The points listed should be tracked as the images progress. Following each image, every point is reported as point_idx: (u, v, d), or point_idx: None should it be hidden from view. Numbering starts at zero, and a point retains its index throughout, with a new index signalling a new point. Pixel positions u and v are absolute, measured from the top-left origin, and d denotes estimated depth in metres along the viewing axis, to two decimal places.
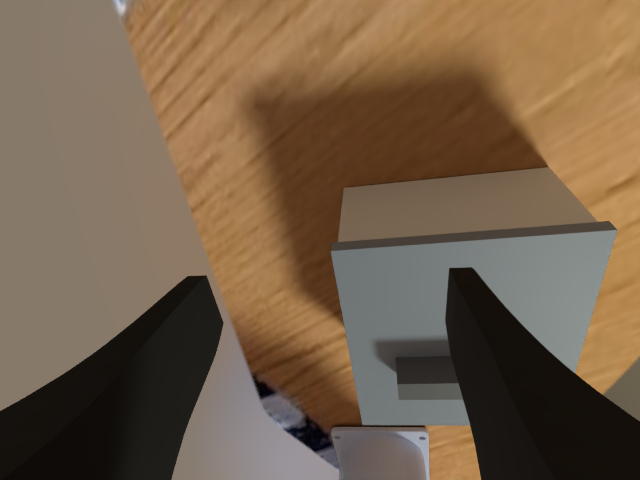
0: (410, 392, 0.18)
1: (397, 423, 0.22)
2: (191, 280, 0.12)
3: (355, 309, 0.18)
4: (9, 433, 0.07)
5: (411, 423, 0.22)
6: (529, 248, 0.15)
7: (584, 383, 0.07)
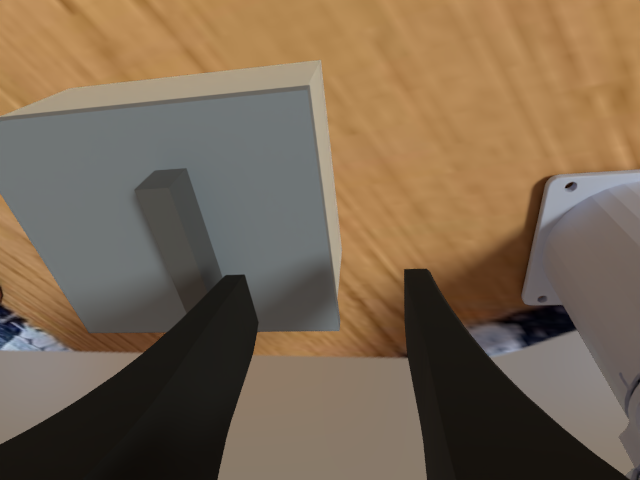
0: None
1: (330, 298, 0.17)
2: (230, 280, 0.11)
3: (146, 323, 0.19)
4: (73, 436, 0.06)
5: (333, 282, 0.16)
6: (15, 197, 0.15)
7: (509, 382, 0.07)
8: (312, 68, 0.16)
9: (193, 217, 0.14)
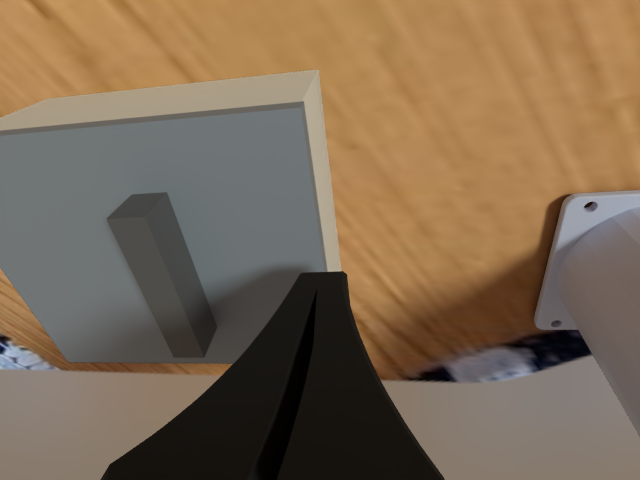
0: (183, 347, 0.14)
1: None
2: (310, 277, 0.11)
3: (128, 353, 0.17)
4: (207, 440, 0.06)
5: None
6: None
7: (374, 381, 0.07)
8: (308, 79, 0.14)
9: (174, 246, 0.13)
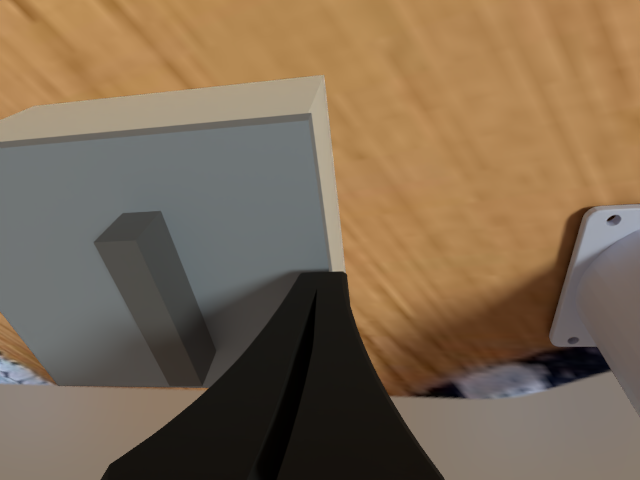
0: (180, 375, 0.13)
1: None
2: (310, 277, 0.11)
3: (122, 376, 0.16)
4: (207, 441, 0.06)
5: None
6: None
7: (374, 381, 0.07)
8: (314, 86, 0.13)
9: (169, 269, 0.12)
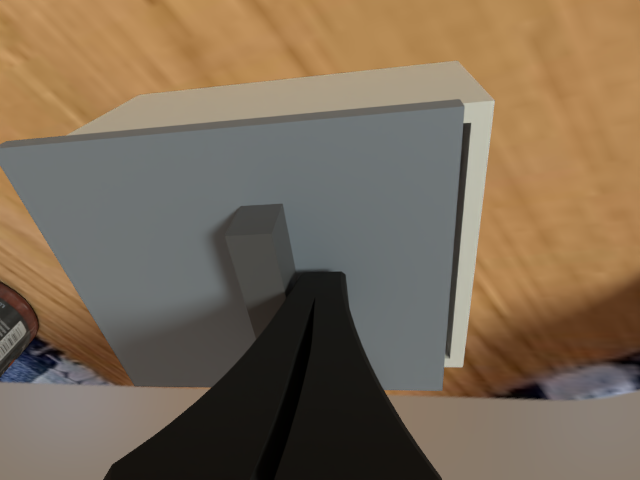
0: None
1: (439, 355, 0.14)
2: (311, 277, 0.11)
3: (204, 377, 0.16)
4: (210, 440, 0.06)
5: (445, 338, 0.13)
6: (59, 235, 0.12)
7: (373, 381, 0.07)
8: (461, 71, 0.12)
9: (288, 265, 0.11)
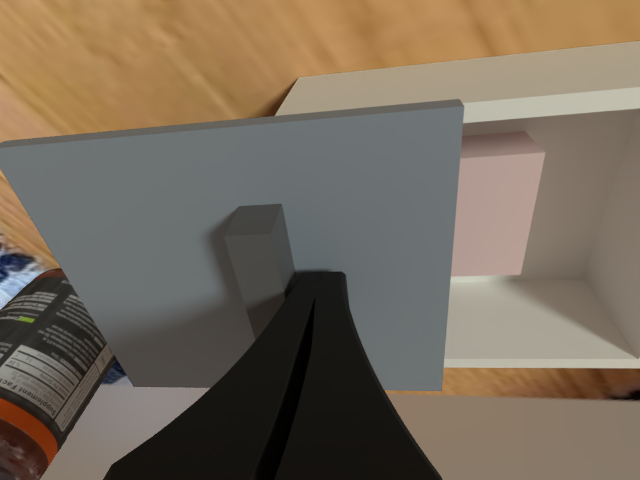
0: None
1: (439, 355, 0.14)
2: (311, 277, 0.11)
3: (204, 377, 0.16)
4: (209, 441, 0.06)
5: (445, 337, 0.13)
6: (57, 235, 0.12)
7: (373, 381, 0.07)
8: None
9: (287, 265, 0.11)
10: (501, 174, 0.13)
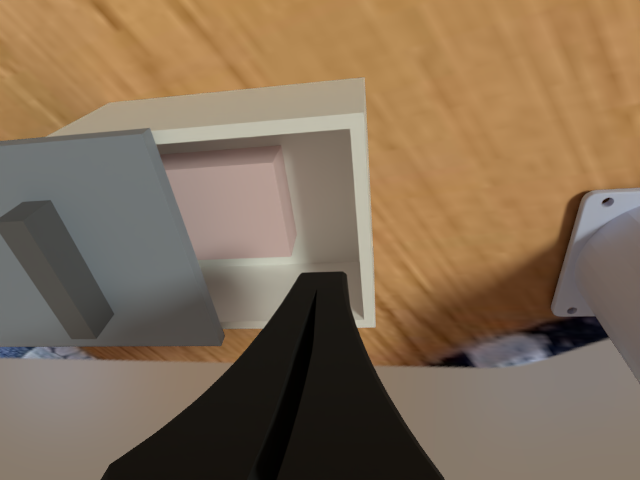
0: (77, 330, 0.17)
1: (206, 316, 0.18)
2: (310, 277, 0.11)
3: (44, 337, 0.20)
4: (206, 441, 0.06)
5: (205, 302, 0.17)
6: None
7: (375, 381, 0.07)
8: (360, 87, 0.16)
9: (60, 244, 0.15)
10: (247, 178, 0.17)
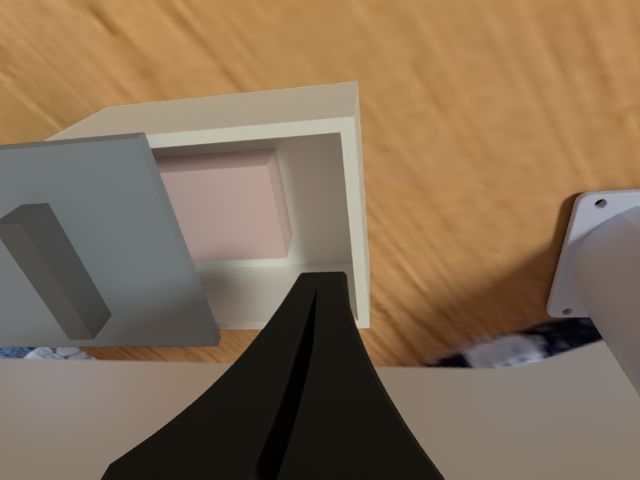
0: (75, 330, 0.17)
1: (202, 317, 0.18)
2: (310, 277, 0.11)
3: (44, 338, 0.20)
4: (207, 440, 0.06)
5: (201, 303, 0.18)
6: None
7: (374, 381, 0.07)
8: (352, 90, 0.16)
9: (57, 246, 0.16)
10: (242, 181, 0.18)
